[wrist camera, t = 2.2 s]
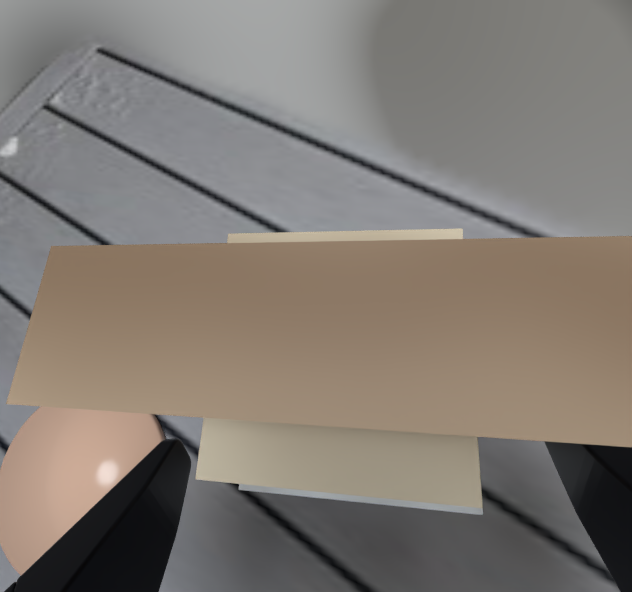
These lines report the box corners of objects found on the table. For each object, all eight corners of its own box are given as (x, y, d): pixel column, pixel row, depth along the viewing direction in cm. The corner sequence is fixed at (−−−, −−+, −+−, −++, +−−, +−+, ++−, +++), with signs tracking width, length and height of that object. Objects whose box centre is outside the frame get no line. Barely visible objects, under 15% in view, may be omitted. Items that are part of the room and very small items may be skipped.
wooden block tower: (438, 430, 17) (786, 607, 3) (282, 419, 18) (-23, 504, 4) (434, 340, 18) (662, 146, 4) (289, 336, 20) (70, 177, 5)
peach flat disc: (150, 599, 17) (143, 606, 16) (-18, 571, 18) (-30, 577, 18) (182, 389, 20) (177, 389, 19) (34, 381, 21) (24, 381, 21)
